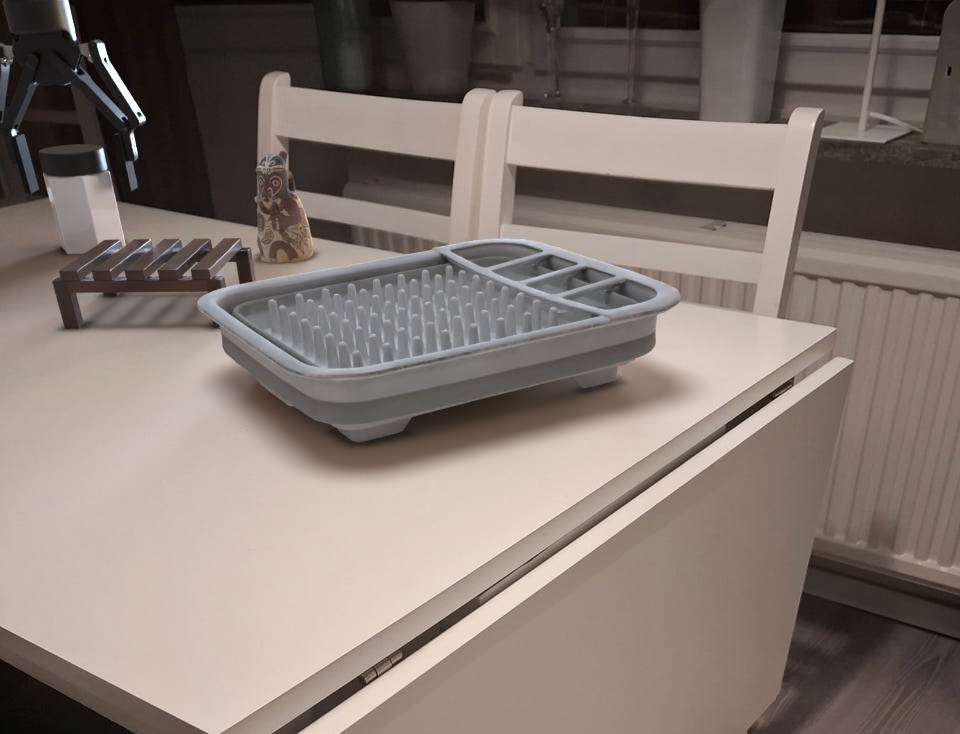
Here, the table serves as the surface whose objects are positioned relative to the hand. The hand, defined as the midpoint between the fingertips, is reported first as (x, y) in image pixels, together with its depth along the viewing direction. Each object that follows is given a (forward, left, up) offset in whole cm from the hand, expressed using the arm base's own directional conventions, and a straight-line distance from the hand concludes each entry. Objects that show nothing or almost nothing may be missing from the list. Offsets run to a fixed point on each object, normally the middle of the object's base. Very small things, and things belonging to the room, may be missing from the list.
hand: (82, 190), depth 134 cm
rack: (+19, -30, -7) cm, 36 cm away
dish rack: (+51, -53, -7) cm, 74 cm away
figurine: (+28, -6, -7) cm, 29 cm away
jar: (0, 0, -7) cm, 7 cm away
